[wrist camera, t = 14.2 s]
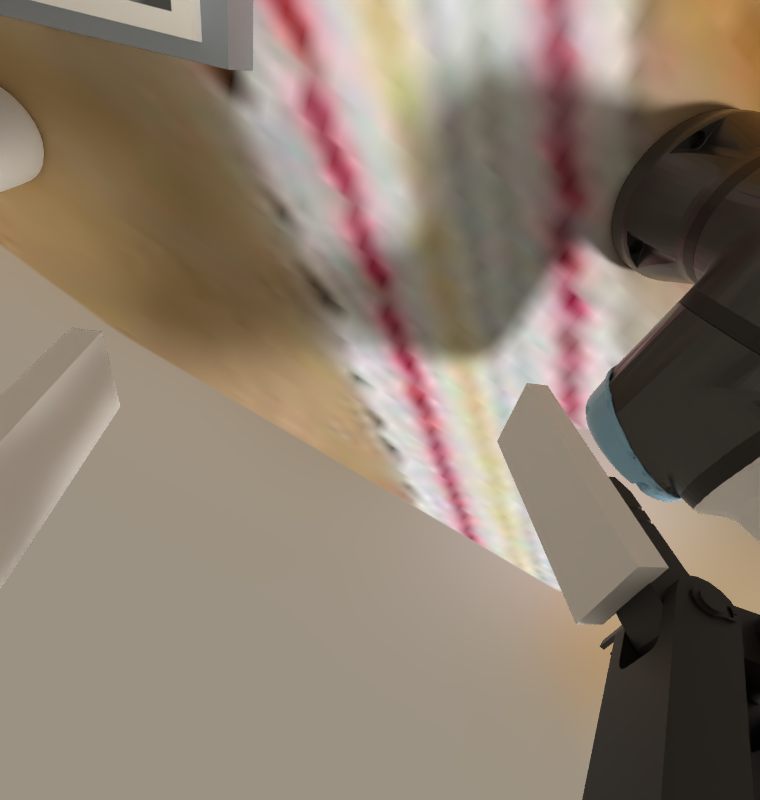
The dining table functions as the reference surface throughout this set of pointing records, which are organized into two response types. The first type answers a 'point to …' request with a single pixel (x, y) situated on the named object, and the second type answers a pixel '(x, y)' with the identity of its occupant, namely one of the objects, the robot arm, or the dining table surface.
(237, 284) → the dining table surface
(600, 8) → the dining table surface
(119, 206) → the dining table surface
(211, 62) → the tray
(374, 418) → the dining table surface
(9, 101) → the milk bottle
